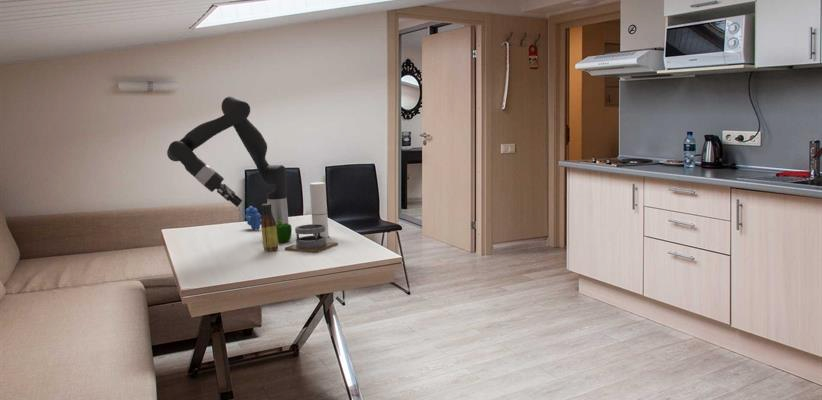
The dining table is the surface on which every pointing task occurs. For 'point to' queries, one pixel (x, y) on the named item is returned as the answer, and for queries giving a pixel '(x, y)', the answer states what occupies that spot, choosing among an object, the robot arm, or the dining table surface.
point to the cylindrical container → (319, 205)
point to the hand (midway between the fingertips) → (239, 203)
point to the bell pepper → (283, 231)
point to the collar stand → (310, 239)
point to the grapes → (253, 217)
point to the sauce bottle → (269, 229)
